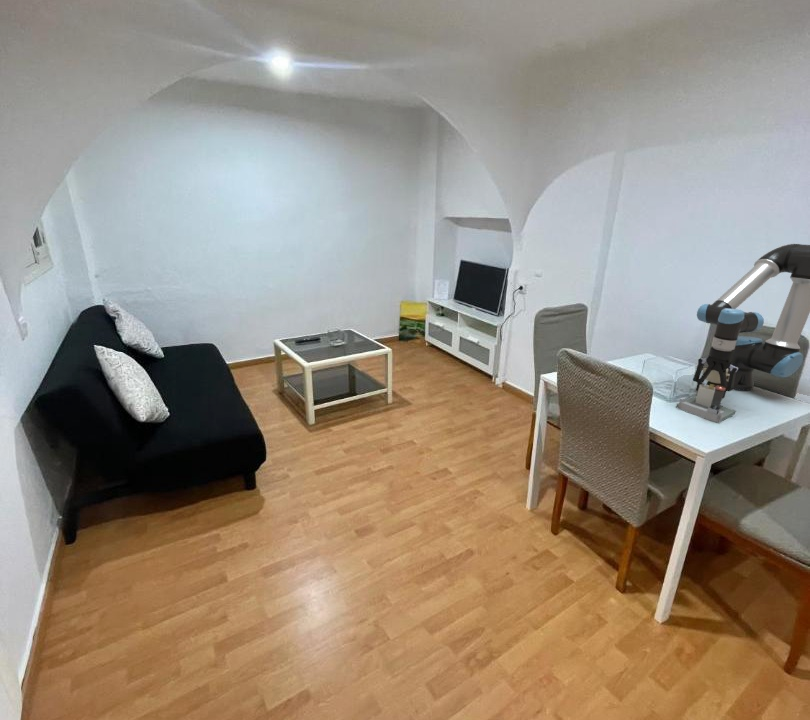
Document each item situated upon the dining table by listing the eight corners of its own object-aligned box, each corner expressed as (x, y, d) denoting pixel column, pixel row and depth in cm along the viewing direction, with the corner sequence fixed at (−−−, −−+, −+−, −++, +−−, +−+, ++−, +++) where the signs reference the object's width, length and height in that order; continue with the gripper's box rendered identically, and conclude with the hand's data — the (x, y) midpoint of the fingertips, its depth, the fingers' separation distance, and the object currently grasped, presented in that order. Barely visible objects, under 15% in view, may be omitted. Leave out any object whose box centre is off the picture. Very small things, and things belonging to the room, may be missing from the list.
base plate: (692, 399, 185) (694, 390, 184) (734, 414, 173) (737, 404, 171) (675, 407, 177) (677, 397, 176) (718, 423, 165) (721, 413, 163)
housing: (702, 399, 181) (707, 380, 178) (718, 405, 176) (723, 385, 173) (695, 402, 178) (700, 383, 175) (711, 408, 173) (717, 388, 170)
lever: (710, 409, 169) (717, 384, 165) (719, 412, 166) (727, 387, 163) (706, 411, 167) (714, 386, 164) (716, 414, 165) (723, 389, 161)
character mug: (728, 397, 188) (736, 369, 184) (721, 401, 184) (730, 372, 180) (700, 388, 196) (708, 362, 192) (694, 392, 193) (701, 365, 188)
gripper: (691, 343, 174) (678, 395, 182) (747, 357, 159) (730, 412, 167) (700, 340, 178) (687, 391, 186) (755, 353, 163) (738, 408, 171)
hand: (707, 401), depth 177 cm, fingers open, 6 cm apart
